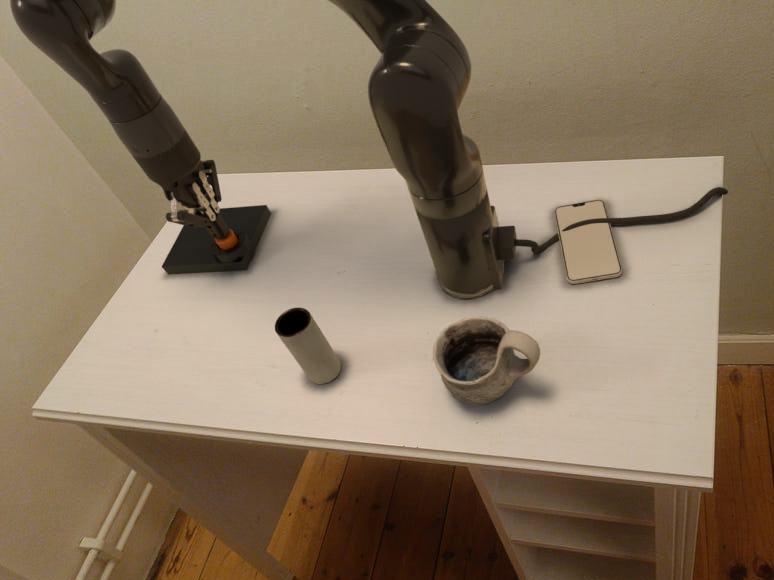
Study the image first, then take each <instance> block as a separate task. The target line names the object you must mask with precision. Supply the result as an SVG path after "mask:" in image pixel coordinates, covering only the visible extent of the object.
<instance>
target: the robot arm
mask: <svg viewBox="0 0 774 580" xmlns="http://www.w3.org/2000/svg"><path fill="white" fill-rule="evenodd" d="M327 1H328V2H329V3H331V4H332V5H334V6H335V7H337V8H338V9H339V10H340V11H341V12H343V13H344V14H345V15H346V16H347V17H348V18H349V19H350V20H351V21H352V22H353V23H354V24H355V25H356V26H357V27H358V29H360V30H361V31H362V32H363V33H364V35H365V36H366V37H367V39H369V41H371V43H372V44H373V45H374V47H375V48H376V49H377V50H378V52H379V53H380V56H379V59H378V60H377V62H376V64H375V65H374V67H373V69H372V71H371V73H370V75H369V78H368V81H367V98H368V102H369V103H368V104H369V106H370V110H371V114H372V117H373V119H374V122H375V124H376V127H377V130H378V133H379V136H380V137H381V139H382V142H383V144H384V147H385V150H386V152H387V155H388V157H389V160H390V161H391V164H392V165H393V167H394V169H395V170H396V171H397V173H398V174H399V175H400V176H401V177H402V178H403V179H404V180H405V183H406V186H407V189H408V192H409V196H410V199H411V201H412V205H413V209H414V210H415V213H416V216H417V220H418V222H419V226H420V228H421V231H422V234H423V237H424V240H425V242H426V246H427V249H428V252H429V255H430V258H431V261H432V264H433V266H434V270H435V273H436V277H437V281H438V284H439V286H440V288H441V289H442V291H443V292H444V293H446V294H447V295H448V296H451V297H454V298H457V299H466V300H467V299H474V298H478V297H482V296H484V295H486V294H488V293H490V292H492V291H493V290H497V289H499V290H500V289H502V287H503V281H504V274H505V262H506V261H513V260H515V259H516V248H517V247H523V248H525V247H526V248H530V249H531V252H532V253H534V254H539V253H542V252H544V251H545V250H547V249H548V248H550V247H551V246H553V245H554V244H555V243H557V242H559V241H560V240H559V234H558V232H557V233H556V234H554V235H553V236H552V237H550V239H548V240H547V241H545V242H543V243H541V244H540V245H539V244H538V242H537V241H535V240H531V239H521V238H520V239H519V238H518V237H517V231H516V226H515V225H502V226H500V225H499V220H498V216H497V210H496V206H495V205H491V201H490V197H489V192H488V186H487V183H486V178H485V173H484V168H483V163H482V158H481V157H482V156H481V153H480V150H479V147H478V145H477V143H476V142H475V140H473V139H472V138H471V137H470V136H468V135H466V134H463V131H462V127H461V123H460V118H459V109H460V107H461V105H462V102H463V101H464V100H463V99H465V96H466V93H467V90H468V87H469V85H470V82H471V78H472V62H471V61H472V60H471V58H470V54H469V51H468V49H467V47H466V45H465V43H464V42H463V40H462V39H461V37H460V36H459V35H458V33H457V32H456V30H454V28H453V27H452V26H451V25H450V24H449V23H448V22H447V20H445V18H443V16H442V15H441V14H440V13H439V12H438V11H437V10H436V9H435V8H434V7H433V6H432V5H431V4H430V3H429V2H428V1H427V0H327ZM116 3H117V0H9V4H10V5H9V6H10V12H11V14H12V16H13V19H14V22H15V23H16V25H17V26H18V28H19V30H20V32H21V33H22V34H23V35H24V36H25V37H26V39H27V40H28V41H29V42H30V43H31V44H32V45H34V46H35V48H37V49H38V50H39V51H40V52H42V53H43V54H44V55H45V56H46V57H48V58H49V59H50V60H51V61H52V62H53V63H55V64H56V65H57V66H58V67H59V68H61V70H63V71H64V72H65V73H66V74H67V75H68V76H69V77H71V78H72V79H73V80H74V81H75V82H76V83H78V84H79V85H80V86H81V87H82V88H83V89H84V91H86V92H87V93H88V95H89V97H90V98H91V99H92V101H93V102H94V103H95V104H96V106H97V107H98V109H99V110H100V112H101V113H102V114H103V115H104V117H105V118H106V119H107V120H108V122H109V124H110V125H111V127H112V129H113V131H114V132H115V134H116V136H117V137H118V138H119V141H120V142H121V143H122V144H123V145H124V147H125V148H126V150H127V151H128V152H129V154H130V155H131V156H132V158H133V159H134V160H135V162H136V163H137V164H138V166H139V167H140V169H141V170H142V171H143V172H144V174H145V176H147V178H148V179H149V180H150V181H152V182H153V183H155V184H156V185H158V186H160V187H161V189H162V191H163V193H164V197H165V198H166V200H167V201H169V202H170V212H166V214H165V219H166V221H167V222H168V223H173V224H178V225H181V226H184V225H185V226H189V227H205V228H206V229H207V231H208V232H209V234H210V235H211V236H212V237H213V238H214V239H226V238H227V236H228V234H229V232H230V230H229V228H228V226H227V223H226V222H225V221H224V219H223V217H222V216H221V214H220V213H219V212H220V206H219V204H218V203H220V202H222V193H221V192H222V191H221V188H220V182H219V177H218V176H219V175H218V171H217V166H216V162H215V160H214V159H203V160H201V159H202V156H201V151H200V150H199V149H198V147H197V145H196V144H195V142H194V141H193V139H192V138H191V136H190V134H189V133H188V131H187V129H186V128H185V126H184V125H183V124H182V121H181V120H180V119H179V117H178V115H177V114H176V113H175V111H174V109H173V108H172V107H171V105H170V104H169V103H168V102H167V100H165V98H164V97H163V95H162V94H161V93H160V91H159V89H158V88H157V86H156V85H155V83H154V81H153V80H152V78H151V77H150V75H149V74H148V73H147V71H146V69H145V67H144V66H143V65H142V63H141V62H140V60H139V59H138V58H137V57H136V56H135V55H134V54H133V53H132V52H130V51H128V50H126V49H121V48H117V49H110V50H106V51H103V52H100V53H99V52H98V51H97V50H96V49H95V47H93V45H92V44H91V42H90V41H91V40H92V39H94V37H95V36H97V34H99V33H100V32H101V31H102V30H103V29H104V28H106V27H107V26H108V25H109V24H110V22H111V21H112V20H113V18H114V15H115V12H116ZM728 194H729V189H726V188H725V187H722V186H717V187H714V188H712V189H709V190H708V191H707V192H706V193H705V194H704V195H703V196H702V197H701V198H700V199H698V200H697V201H696V202H695V203H694V204H692V205H691V206H689V207H687V208H685V209H681V210H678V211H674V212H670V213H662V214H651V215H639V216H630V217H609V218H597V219H589V220H584V221H580V222H577V223H574V224H572V225H570V226H568V227H566V228H565V229H563V230H562V232H564V231H568V230H571V229H574V228H577V227H580V226H583V225H588V224H594V223H610V225H611V226H620V225H622V226H623V225H633V224H642V223H643V224H644V223H647V224H648V223H659V222H660V223H661V222H667V221H674V220H677V219H678V220H679V219H682V218H685V217H688V216H690V215H692V214H695V213H696V212H697V211H699V210H700V209H701V208H703V206H705V205H707V203H708V202H709V201H710V200H711V199H712V198H714V197H715V196H716V195H721V196H726V195H728Z"/></svg>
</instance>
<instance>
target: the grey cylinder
mask: <svg viewBox="0 0 774 580" xmlns="http://www.w3.org/2000/svg"><path fill="white" fill-rule="evenodd" d="M274 331H275V333H276V336H278V338H279V339H280V341H281V342H282V343H283V344H284V346H285V348H286V349H287V350H288V351H289V352H290V354H291V355H292V357H293V358H294V359H295V361H296V363H297V364H298V365H299V367H300V368H301V369H302V370H303V372H304V373H305V374H306V376H307V377H308V379H309V380H310V381H311V382H312V383H314V384H317V385H325V384H328V383H330V382H332V381H334V380H335V379H336V378H337V377H338V376H339V375H340V372H341V370H342V363H341V360H340V358H339V357H338V355H337V353H336V352H335V350H334V349H333V347H332V346H331V344H330V342H329V341H328V339H327V338H326V336H325V334H324V333H323V331H322V330H321V328H320V326H319V325H318V323H317V322H316V320H315V318H314V317H313V316H312V314H311V312H310V310H308V309H306V308H304V307H292V308H290V309H287V310H285V311H284V312H282V313H281V314H280V315H279V316H278V318H276V321H275V323H274Z"/></svg>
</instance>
